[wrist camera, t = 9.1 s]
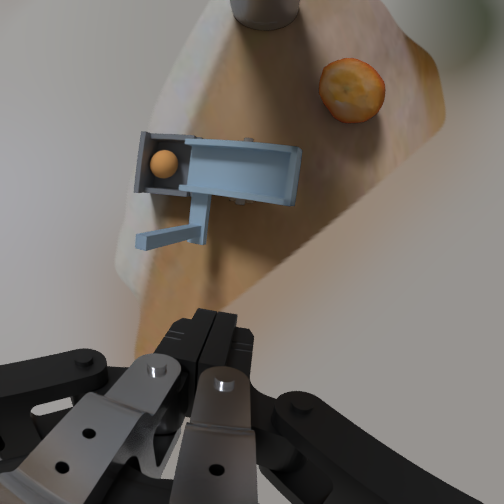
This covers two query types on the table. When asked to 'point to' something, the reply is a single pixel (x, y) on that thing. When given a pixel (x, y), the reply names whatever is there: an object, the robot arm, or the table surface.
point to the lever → (230, 183)
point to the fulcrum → (239, 200)
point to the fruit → (351, 90)
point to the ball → (164, 164)
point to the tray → (147, 149)
